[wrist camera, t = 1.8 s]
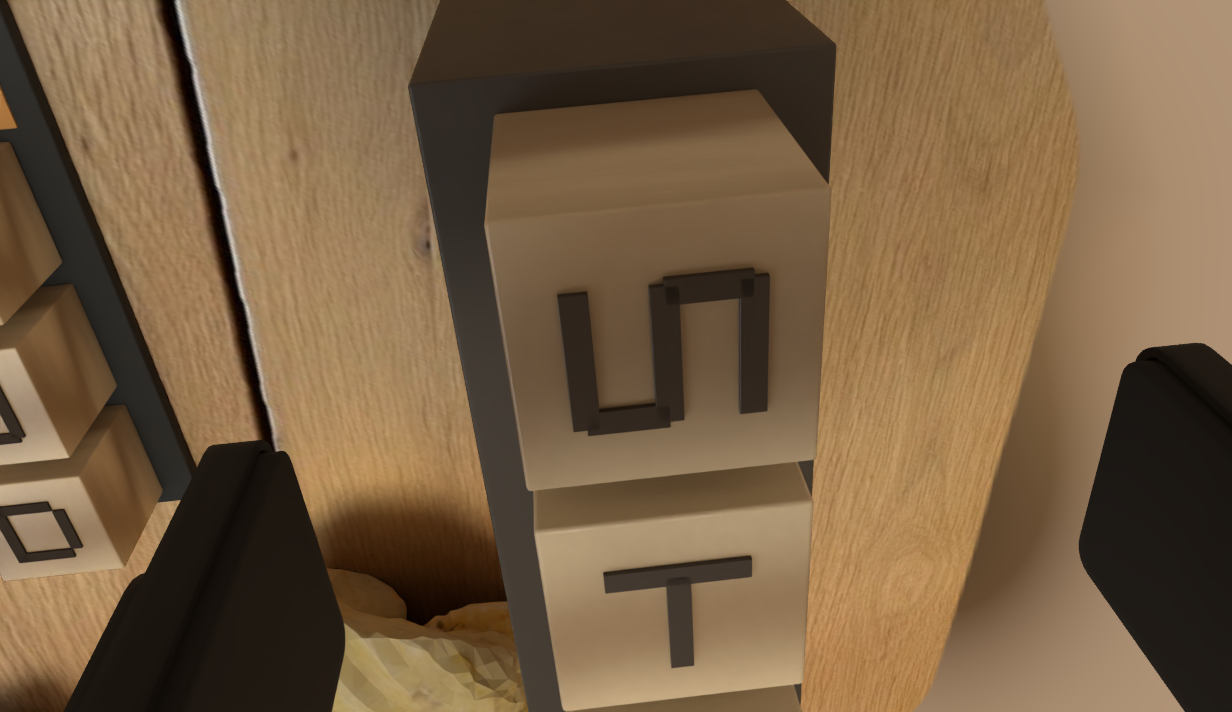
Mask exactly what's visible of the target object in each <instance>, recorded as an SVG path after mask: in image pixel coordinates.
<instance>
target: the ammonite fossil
mask: <svg viewBox="0 0 1232 712" xmlns="http://www.w3.org/2000/svg"><path fill="white" fill-rule="evenodd" d="M326 569H327V572H328V575H329V578H330V581H331V584H332V587H333V590H334V593H335V596H336V599H337V603H338V606H339V609H340V612H341V615H342V618H343V622H344V627H345V652H344V658H343V663H342V667H341V672H340V676H339V681H338V686H337V690H336V695H335V700H334V704H333V709H332V712H528V707H527V702H526V697H525V692H524V686H523V681H522V676H521V671H520V666H519V660H518V655H517V650H516V645H515V640H514V635H513V629H512V624H511V619H510V614H509V609H508V603H507V601H502V602H489V603H478V604H469V605H467V606H465V607H463V608H460V609H457V610H452V611H450V612H449V613H448V614H447V615H446V616H435V617H434V618H433V619H432V620H430V621H429V622H428V623H427V624H425V625H423V626H420V625H418V624H415V623H413V622H410V621H407V620H406V616H407V608H406V605H405V602H404V600H402V599H401V598H400V597H399V596H398V594H397V593H396V592H395V590H394V589H393V588H392V587H390V586H389V585H387V584H385V583H383V582H382V581H380V580H378V579H376V578H374V577H372V576H370V575H368V574H364V573H357V572H350V571H347V570H344V569H328V568H326Z"/></svg>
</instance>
